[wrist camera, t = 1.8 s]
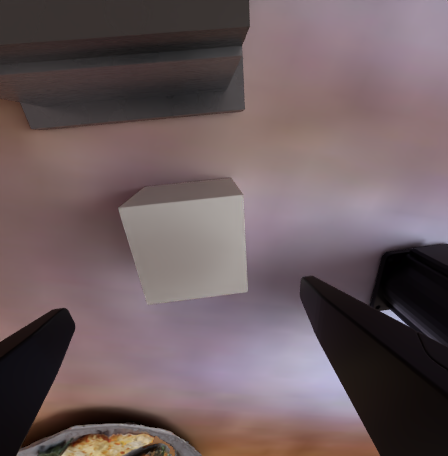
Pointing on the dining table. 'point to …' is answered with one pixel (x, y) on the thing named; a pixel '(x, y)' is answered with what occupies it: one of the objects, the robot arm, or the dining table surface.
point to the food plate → (109, 442)
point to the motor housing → (121, 59)
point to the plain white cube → (187, 239)
